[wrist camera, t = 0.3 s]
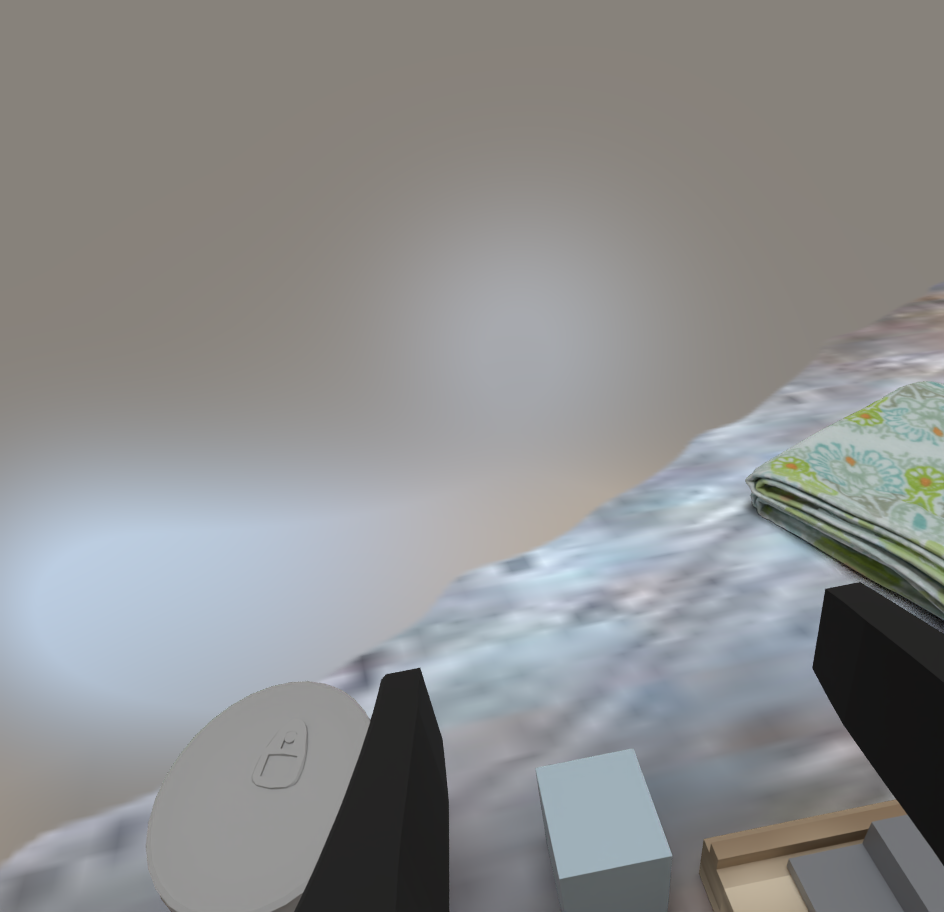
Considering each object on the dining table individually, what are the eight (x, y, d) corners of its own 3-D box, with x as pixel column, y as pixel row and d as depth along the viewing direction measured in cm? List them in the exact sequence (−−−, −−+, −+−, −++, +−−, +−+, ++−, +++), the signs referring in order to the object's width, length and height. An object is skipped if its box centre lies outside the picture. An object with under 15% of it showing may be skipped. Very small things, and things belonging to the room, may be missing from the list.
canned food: (429, 806, 30) (379, 661, 24) (444, 1020, 23) (380, 894, 17) (272, 838, 30) (181, 700, 24) (242, 1064, 23) (104, 952, 17)
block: (666, 925, 25) (672, 855, 22) (568, 945, 25) (559, 878, 21) (632, 822, 28) (633, 748, 25) (546, 840, 28) (535, 768, 25)
